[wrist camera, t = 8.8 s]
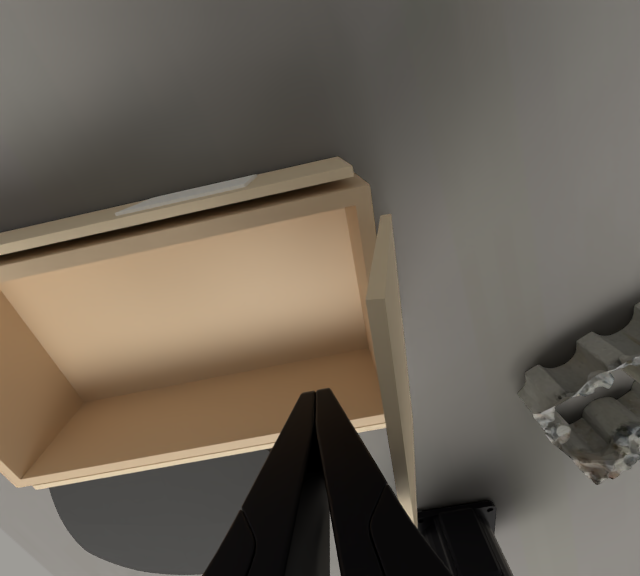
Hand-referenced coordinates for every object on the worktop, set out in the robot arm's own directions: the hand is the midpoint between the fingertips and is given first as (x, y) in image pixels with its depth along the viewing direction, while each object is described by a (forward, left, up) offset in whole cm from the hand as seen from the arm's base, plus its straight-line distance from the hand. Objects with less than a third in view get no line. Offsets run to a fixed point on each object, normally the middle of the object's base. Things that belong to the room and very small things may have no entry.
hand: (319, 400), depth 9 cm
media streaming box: (-14, +12, -9) cm, 21 cm away
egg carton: (-10, -16, -8) cm, 21 cm away
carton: (0, +6, -8) cm, 10 cm away
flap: (0, -3, -3) cm, 4 cm away
